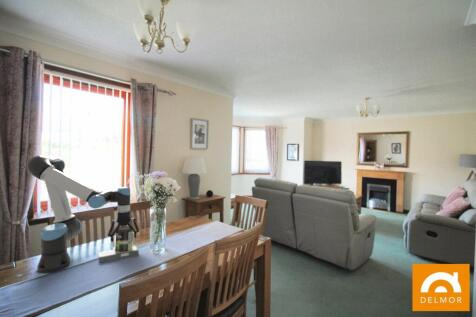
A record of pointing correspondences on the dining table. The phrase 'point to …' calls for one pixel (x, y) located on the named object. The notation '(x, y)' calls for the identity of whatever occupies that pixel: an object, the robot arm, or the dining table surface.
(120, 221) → the robot arm
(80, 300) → the dining table surface
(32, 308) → the dining table surface
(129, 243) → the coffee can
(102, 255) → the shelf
